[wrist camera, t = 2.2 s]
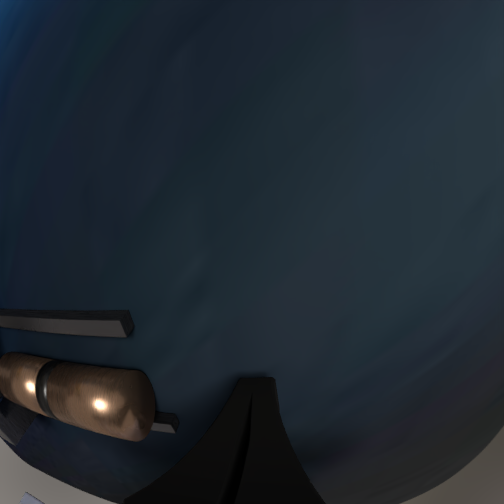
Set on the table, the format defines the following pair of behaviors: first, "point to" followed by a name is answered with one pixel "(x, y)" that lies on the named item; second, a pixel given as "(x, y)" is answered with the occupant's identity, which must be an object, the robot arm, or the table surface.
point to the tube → (81, 394)
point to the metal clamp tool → (65, 322)
